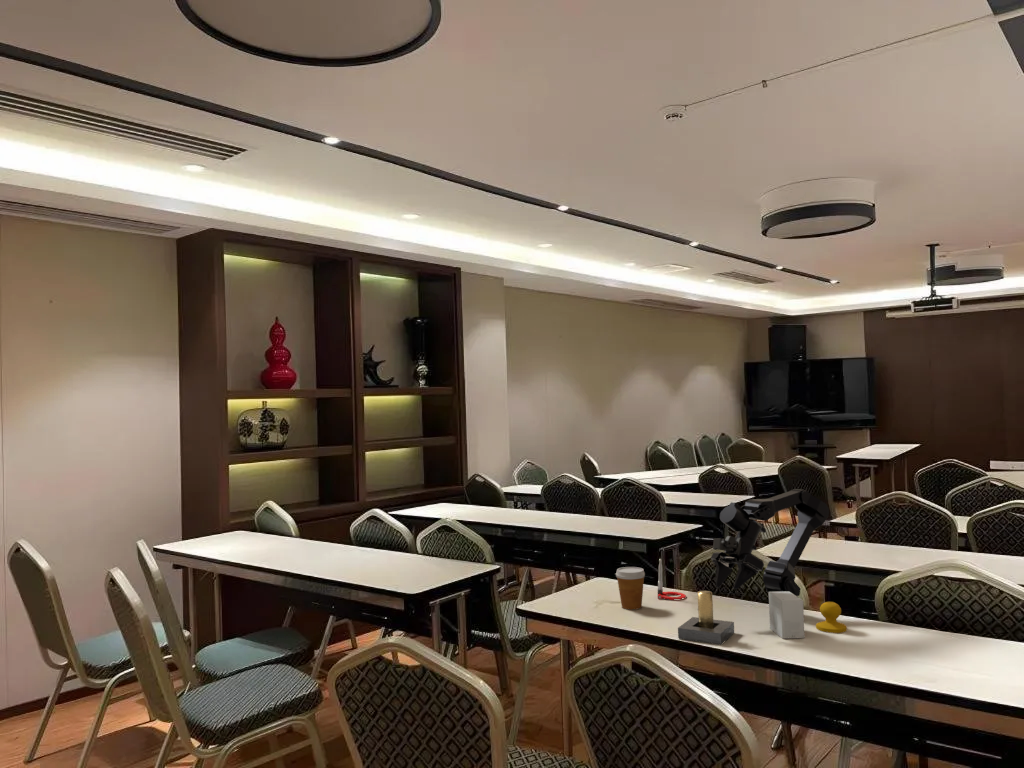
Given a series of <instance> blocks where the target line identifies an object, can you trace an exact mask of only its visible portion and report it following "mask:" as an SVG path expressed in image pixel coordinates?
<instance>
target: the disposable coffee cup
mask: <svg viewBox="0 0 1024 768" xmlns="http://www.w3.org/2000/svg"><path fill="white" fill-rule="evenodd" d="M645 576H646V572H645V571H644V568H642V567H637V566H625V567H624V566H623V567H619V568H617V569H616V573H615V577H616V578H617V585H618V592H619V598H620V602H621V608H622V609H624V610H629V609H630V610H632V609H635V610H640V609H641V608H642V607H643V594H644V580H645ZM639 608H640V609H639ZM630 610H629V611H630ZM632 611H633V610H632Z"/></svg>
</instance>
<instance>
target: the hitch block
mask: <svg viewBox="0 0 1024 768" xmlns="http://www.w3.org/2000/svg"><path fill="white" fill-rule="evenodd" d="M713 622H714V629H708V628H701V627H699V617H698V616H697V617H696V616H692V617H690V618H689V619H688V620H687V621H685V622H684V623H682V624H681V625H680V626H678V627H677V636H678V637H677V638H679V640H683V639H685V640H684V641H690V640H692V642H698V643H707V644H712V643H713V644H714V645H719V644H720V646H721V645H723V644H724V643H725V642H726V641H727V640H728V639H729V638H731V637H732V636H733V633H734V634H735V621H728V620H720V619H713ZM699 641H700V642H699ZM724 641H725V642H724ZM723 642H724V643H723ZM722 643H723V644H722Z"/></svg>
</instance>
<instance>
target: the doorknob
mask: <svg viewBox="0 0 1024 768" xmlns="http://www.w3.org/2000/svg"><path fill="white" fill-rule="evenodd" d="M819 611H820V613H821V615H822V616H823V618H824V619H825V620H822V621H818V622H816V623H815V628H816V630H818V631H819V632H823V633H829V634H842V633H846V632H847V630H848V627H847V625H846V624H845V623H842V622H839V621H837V619H838V618H839V617H840V616H841V614H842V608H841V607H840V605H839V604H838V603H836V602H834V601H825V602H823V603H821V604H820V607H819Z"/></svg>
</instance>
